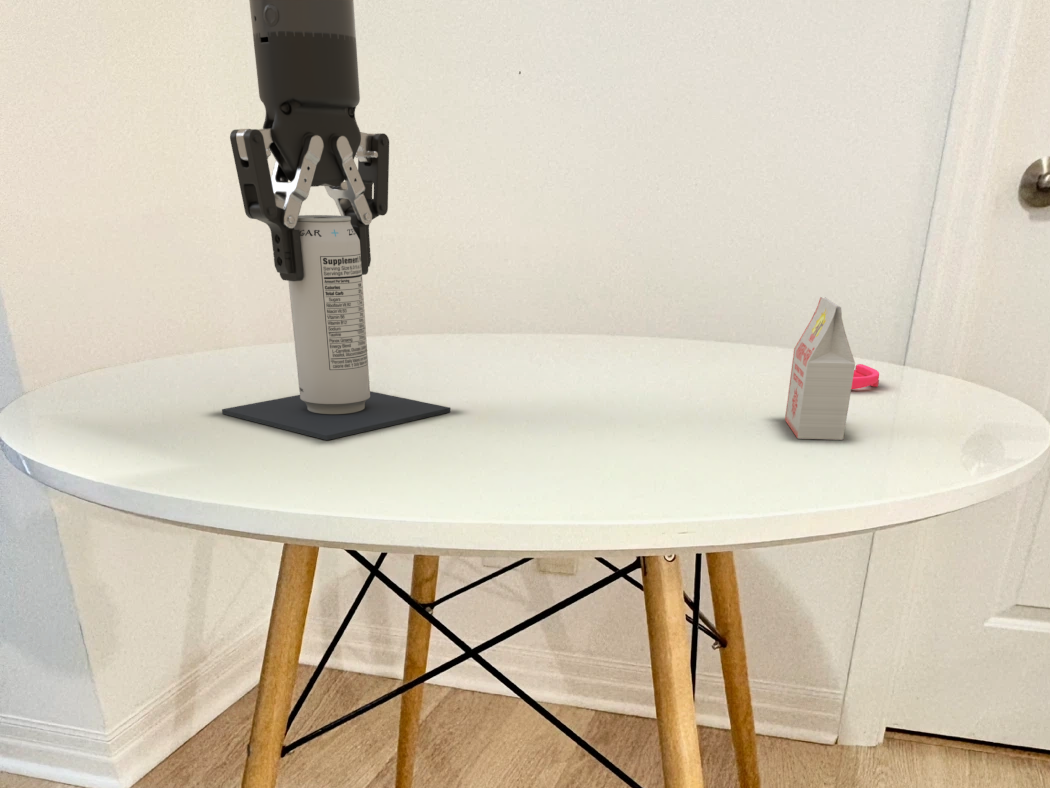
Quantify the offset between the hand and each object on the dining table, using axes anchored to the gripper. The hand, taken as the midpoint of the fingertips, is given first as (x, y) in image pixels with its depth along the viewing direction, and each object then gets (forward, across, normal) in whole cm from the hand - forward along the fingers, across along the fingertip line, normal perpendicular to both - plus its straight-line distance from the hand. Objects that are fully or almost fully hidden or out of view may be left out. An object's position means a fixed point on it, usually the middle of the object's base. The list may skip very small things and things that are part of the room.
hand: (325, 276), depth 82 cm
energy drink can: (+11, 0, 0) cm, 11 cm away
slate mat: (+11, 0, 0) cm, 11 cm away
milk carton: (+11, -23, +34) cm, 43 cm away
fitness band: (+11, -44, +27) cm, 53 cm away
